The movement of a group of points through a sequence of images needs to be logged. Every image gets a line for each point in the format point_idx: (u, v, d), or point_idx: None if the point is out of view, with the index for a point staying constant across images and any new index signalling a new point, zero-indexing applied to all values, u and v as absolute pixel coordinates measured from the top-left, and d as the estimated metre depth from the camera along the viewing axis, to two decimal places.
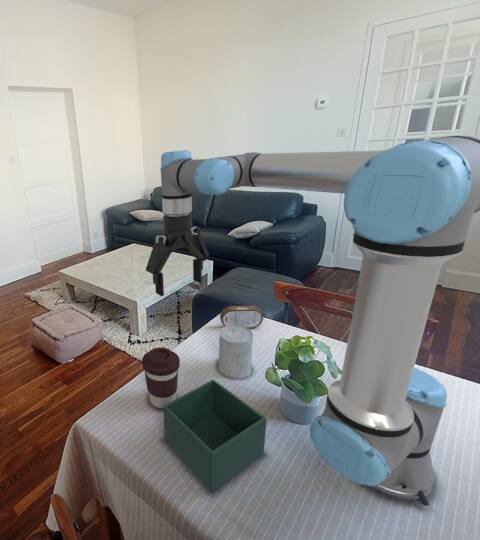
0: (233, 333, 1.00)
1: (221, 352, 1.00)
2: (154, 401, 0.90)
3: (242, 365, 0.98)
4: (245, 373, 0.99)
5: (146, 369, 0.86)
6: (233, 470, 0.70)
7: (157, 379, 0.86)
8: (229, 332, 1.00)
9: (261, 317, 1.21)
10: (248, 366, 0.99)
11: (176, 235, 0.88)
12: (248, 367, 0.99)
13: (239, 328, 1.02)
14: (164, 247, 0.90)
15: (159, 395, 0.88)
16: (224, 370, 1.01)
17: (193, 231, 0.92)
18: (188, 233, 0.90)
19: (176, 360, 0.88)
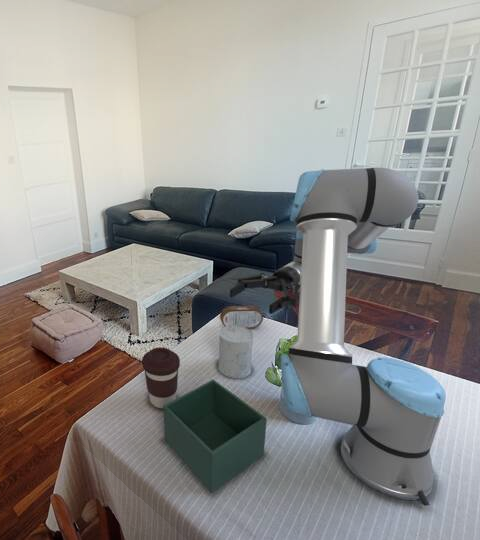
0: (233, 333, 1.00)
1: (221, 352, 1.00)
2: (154, 401, 0.90)
3: (242, 365, 0.98)
4: (245, 373, 0.99)
5: (146, 369, 0.86)
6: (233, 470, 0.70)
7: (157, 379, 0.86)
8: (229, 332, 1.00)
9: (261, 317, 1.21)
10: (248, 366, 0.99)
11: None
12: (248, 367, 0.99)
13: (239, 328, 1.02)
14: None
15: (159, 395, 0.88)
16: (224, 370, 1.01)
17: None
18: (287, 282, 1.06)
19: (176, 360, 0.88)
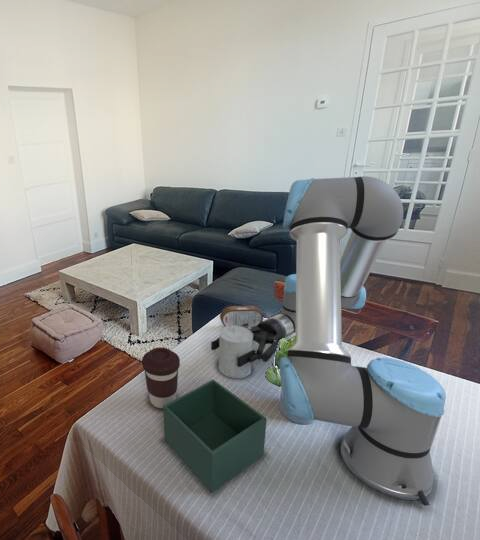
0: (233, 333, 1.00)
1: (221, 352, 1.00)
2: (154, 401, 0.90)
3: None
4: (245, 373, 0.99)
5: (146, 369, 0.86)
6: (233, 470, 0.70)
7: (157, 379, 0.86)
8: (229, 332, 1.00)
9: (261, 317, 1.21)
10: (248, 366, 0.99)
11: None
12: (248, 367, 0.99)
13: (239, 328, 1.02)
14: None
15: (159, 395, 0.88)
16: (224, 370, 1.01)
17: None
18: (270, 335, 1.04)
19: (176, 360, 0.88)
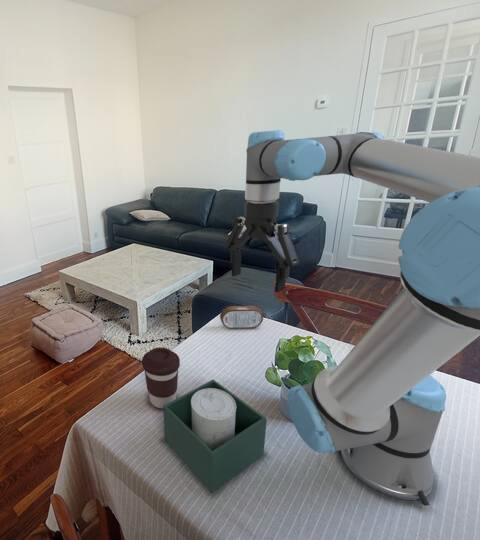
0: (210, 402, 0.74)
1: (194, 427, 0.74)
2: (154, 401, 0.90)
3: None
4: None
5: (146, 369, 0.86)
6: (233, 470, 0.70)
7: (157, 379, 0.86)
8: (205, 400, 0.75)
9: (261, 317, 1.21)
10: None
11: (252, 223, 0.83)
12: None
13: (218, 393, 0.76)
14: None
15: (159, 395, 0.88)
16: None
17: (277, 228, 0.78)
18: (266, 226, 0.79)
19: (176, 360, 0.88)
